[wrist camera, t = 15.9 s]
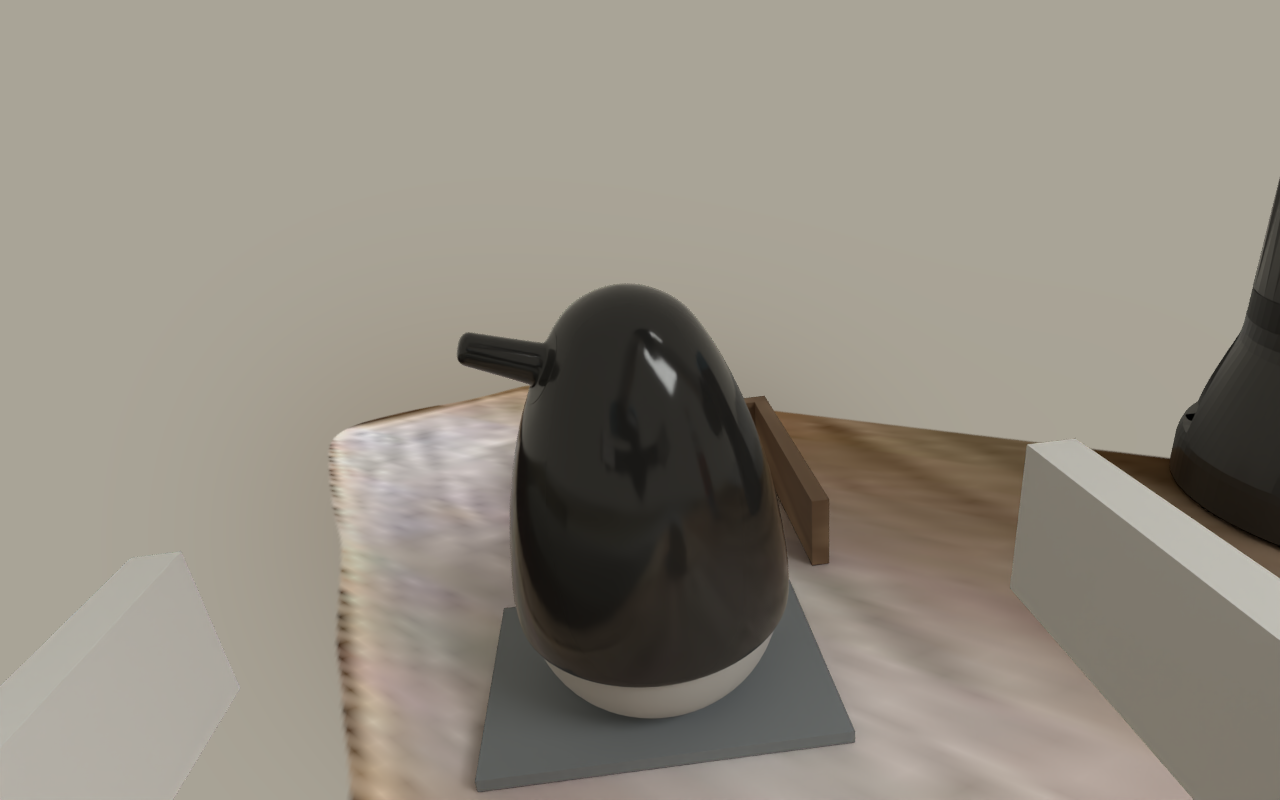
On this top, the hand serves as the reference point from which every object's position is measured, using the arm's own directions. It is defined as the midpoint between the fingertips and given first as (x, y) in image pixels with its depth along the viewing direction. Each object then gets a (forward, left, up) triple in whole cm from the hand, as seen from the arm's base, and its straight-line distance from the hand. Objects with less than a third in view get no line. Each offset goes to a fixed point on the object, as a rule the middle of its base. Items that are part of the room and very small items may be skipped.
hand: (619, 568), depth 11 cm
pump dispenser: (-1, -13, -14) cm, 19 cm away
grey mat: (0, -13, -14) cm, 19 cm away
